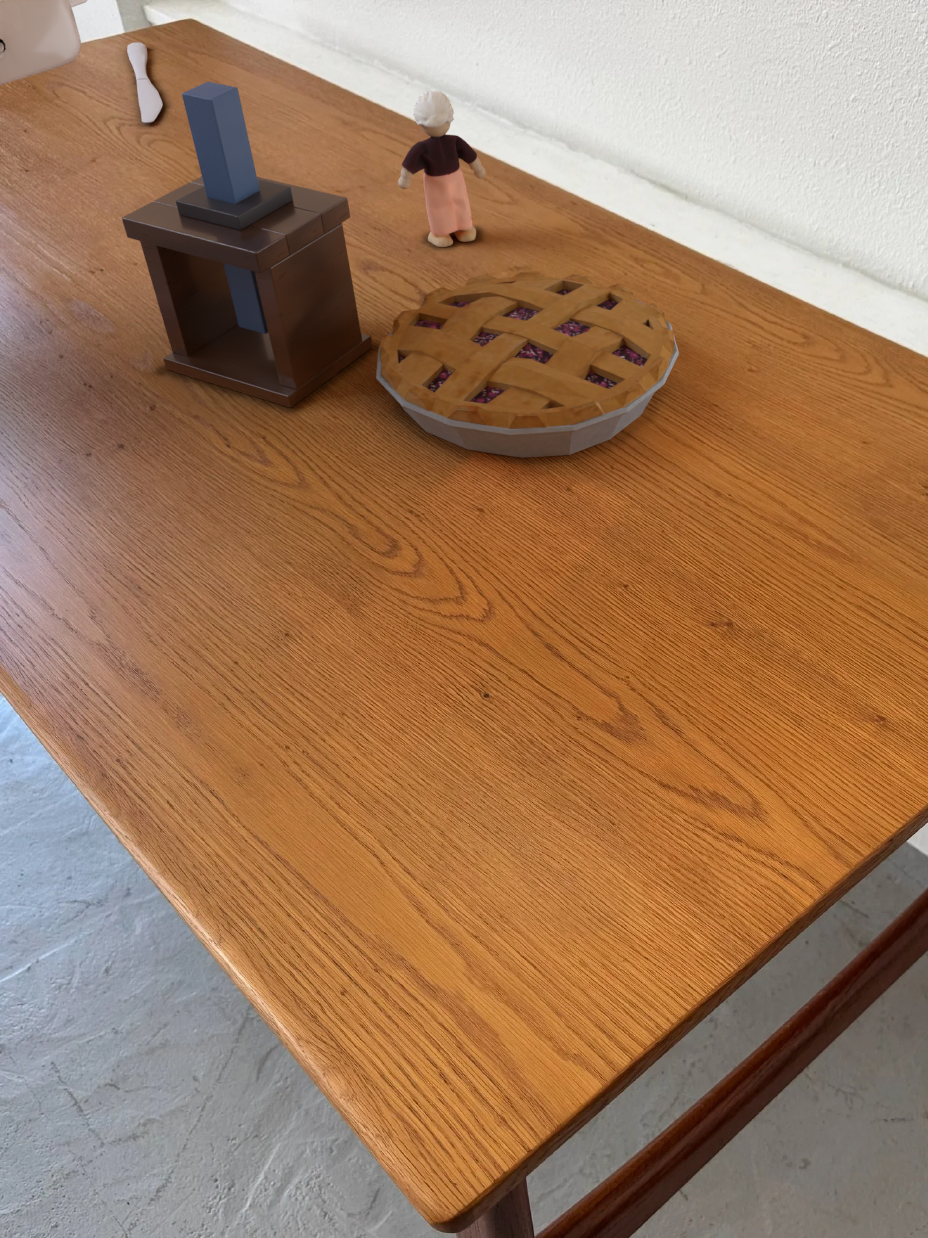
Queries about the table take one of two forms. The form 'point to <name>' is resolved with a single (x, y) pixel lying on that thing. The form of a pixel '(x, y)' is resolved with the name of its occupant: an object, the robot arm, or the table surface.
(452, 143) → the grandmother figurine
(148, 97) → the butter knife
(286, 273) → the stand
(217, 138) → the peg
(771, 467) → the table surface
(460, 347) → the pie
